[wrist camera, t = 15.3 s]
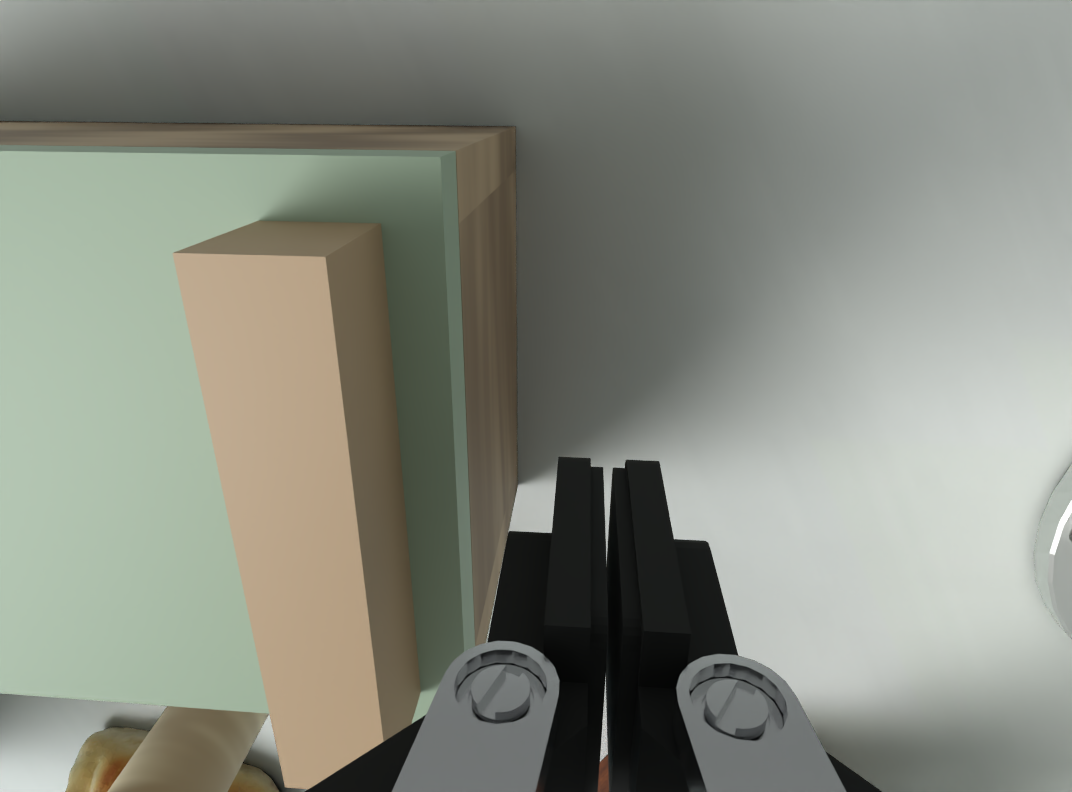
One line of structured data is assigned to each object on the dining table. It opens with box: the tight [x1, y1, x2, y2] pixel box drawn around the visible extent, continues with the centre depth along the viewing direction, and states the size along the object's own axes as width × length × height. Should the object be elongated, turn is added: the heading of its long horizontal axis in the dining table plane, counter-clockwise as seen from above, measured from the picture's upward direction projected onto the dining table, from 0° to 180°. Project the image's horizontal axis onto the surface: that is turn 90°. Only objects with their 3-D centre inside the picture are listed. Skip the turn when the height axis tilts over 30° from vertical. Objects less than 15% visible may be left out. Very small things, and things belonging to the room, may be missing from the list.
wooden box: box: [0, 121, 518, 646], centre depth 19 cm, size 20×12×9 cm, turn 90°
